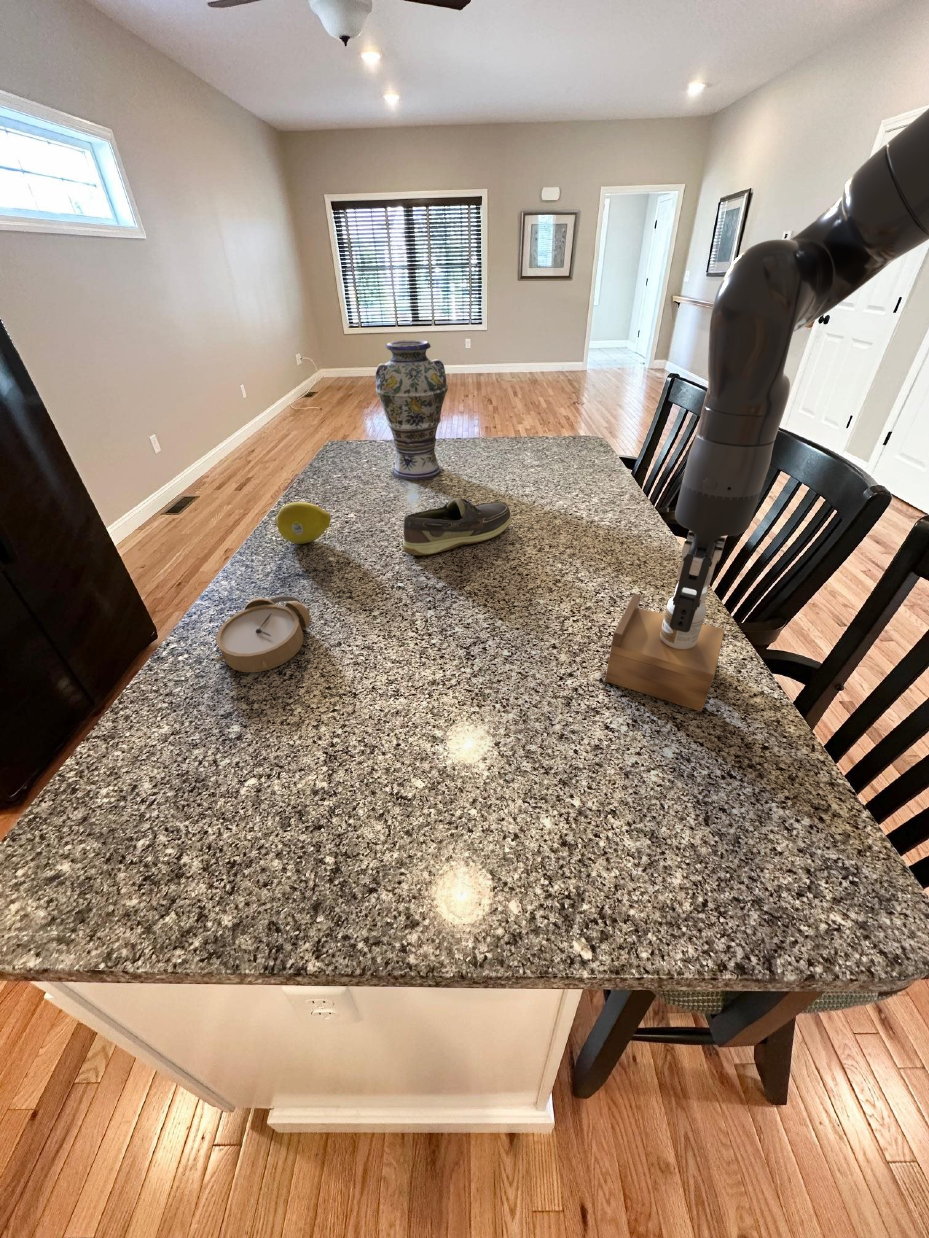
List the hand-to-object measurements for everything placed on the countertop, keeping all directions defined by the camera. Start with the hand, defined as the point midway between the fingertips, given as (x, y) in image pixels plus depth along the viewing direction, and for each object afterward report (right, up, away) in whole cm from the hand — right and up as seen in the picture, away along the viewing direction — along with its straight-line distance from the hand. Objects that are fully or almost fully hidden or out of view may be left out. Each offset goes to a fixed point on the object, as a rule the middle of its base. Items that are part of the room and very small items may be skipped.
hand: (685, 610), depth 62 cm
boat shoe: (-27, +15, +40) cm, 51 cm away
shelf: (-1, -8, +6) cm, 10 cm away
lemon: (-58, +14, +40) cm, 72 cm away
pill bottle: (0, -4, +3) cm, 5 cm away
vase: (-39, +37, +72) cm, 90 cm away
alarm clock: (-55, -4, +14) cm, 57 cm away
